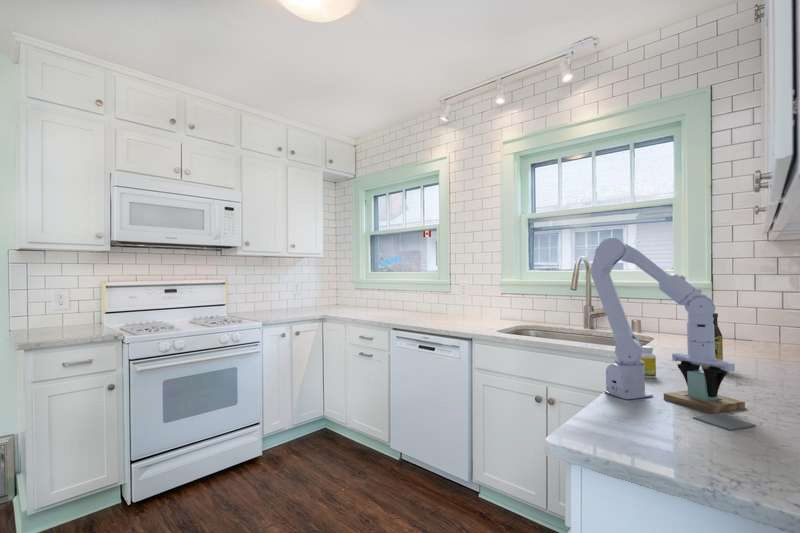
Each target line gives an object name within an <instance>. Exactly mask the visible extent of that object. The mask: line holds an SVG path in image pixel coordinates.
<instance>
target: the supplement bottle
mask: <svg viewBox="0 0 800 533" xmlns="http://www.w3.org/2000/svg"><path fill="white" fill-rule="evenodd" d="M653 351H654V348H653V346H651V345H650V346H649V345H642V354H641V360H643V361H644V373H645V378H646V379H655V378H657V367H656V364H657V362H656V361H657V359H656V358H657V357H656V354H655V353H653Z"/></svg>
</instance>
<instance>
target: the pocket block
mask: <svg viewBox="0 0 800 533" xmlns="http://www.w3.org/2000/svg"><path fill="white" fill-rule="evenodd" d="M663 400H665V401H669V402H671V403H674V404H678V405H681V406H684V407H687V408H691V409H694V410H697V411H701V412H704V413H707V414H715V413H723V412H729V411H737V410H742V409H745V408H746V401H744V400H740V399H737V398H732V397H729V396H725V395H720V394H718V400H716V401H709V402H705V401H701V400H698V399H694V398H691V397H688V389H687V390H679V391H671V392H663Z"/></svg>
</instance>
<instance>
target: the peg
mask: <svg viewBox="0 0 800 533" xmlns="http://www.w3.org/2000/svg"><path fill="white" fill-rule="evenodd" d="M687 380H688V386H687V390H688V397H691V398H694V399H698V400H701V401H705V402H709V401H716V400H718V395H719V394H718V393H717V397H708V392H707V381H706V377H705V374H704V371H703V369H702V370H701V369H699V370H693V371H687Z"/></svg>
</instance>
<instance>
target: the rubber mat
mask: <svg viewBox="0 0 800 533" xmlns="http://www.w3.org/2000/svg"><path fill="white" fill-rule="evenodd" d="M692 419H694V420H697V421H700V422H703V423H706V424H709V425H712V426H714V427H715V426H716V427H718V428H721V429H724V430H728V431H735V430H741V429H747V428H752V427H754V428H755V427H757V424H755V423H752V422H748V421H745V420H742V419H738V418H735V417H733V416H728V415H725V414H722V413H720V412H717V413H708V414H704V415H697V416H693V417H692Z"/></svg>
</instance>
